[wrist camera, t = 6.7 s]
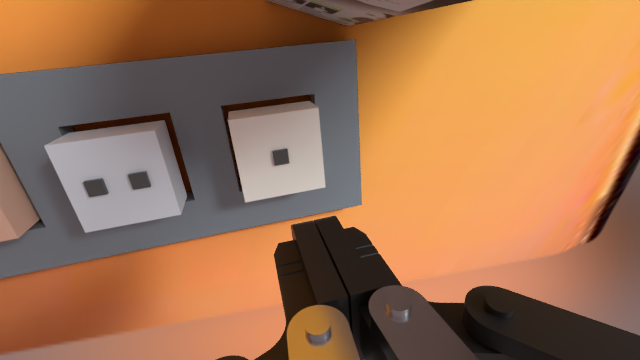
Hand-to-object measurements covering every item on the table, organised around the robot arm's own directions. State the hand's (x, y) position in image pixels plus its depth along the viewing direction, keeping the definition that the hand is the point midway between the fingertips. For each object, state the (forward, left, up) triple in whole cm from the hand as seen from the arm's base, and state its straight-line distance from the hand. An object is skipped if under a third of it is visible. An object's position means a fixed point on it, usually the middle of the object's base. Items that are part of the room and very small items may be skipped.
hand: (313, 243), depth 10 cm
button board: (+9, 0, -14) cm, 16 cm away
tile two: (+9, 0, -12) cm, 15 cm away
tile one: (0, 0, -12) cm, 12 cm away
